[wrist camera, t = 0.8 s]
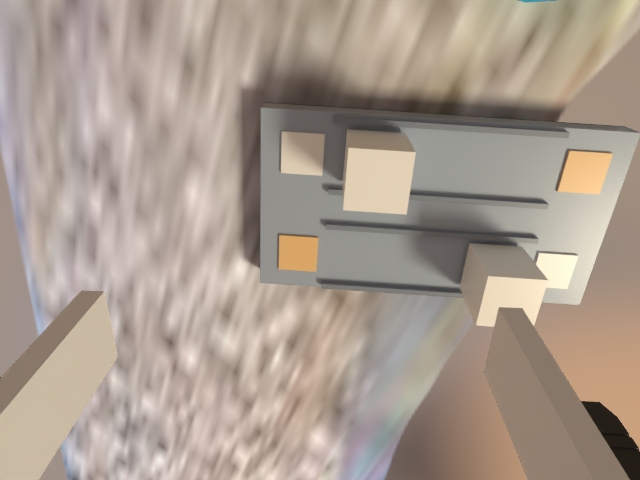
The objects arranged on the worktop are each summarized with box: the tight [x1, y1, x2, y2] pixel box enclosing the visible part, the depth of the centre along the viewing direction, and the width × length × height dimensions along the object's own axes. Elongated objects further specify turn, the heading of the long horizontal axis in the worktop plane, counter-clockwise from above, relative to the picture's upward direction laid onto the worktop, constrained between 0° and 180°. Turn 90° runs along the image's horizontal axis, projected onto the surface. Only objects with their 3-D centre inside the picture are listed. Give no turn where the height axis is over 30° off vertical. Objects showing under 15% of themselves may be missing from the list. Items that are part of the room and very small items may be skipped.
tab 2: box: [460, 243, 548, 327], centre depth 34 cm, size 4×4×5 cm
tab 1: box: [342, 129, 416, 215], centre depth 31 cm, size 4×4×5 cm
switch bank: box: [260, 103, 640, 305], centre depth 36 cm, size 14×26×2 cm, turn 87°
